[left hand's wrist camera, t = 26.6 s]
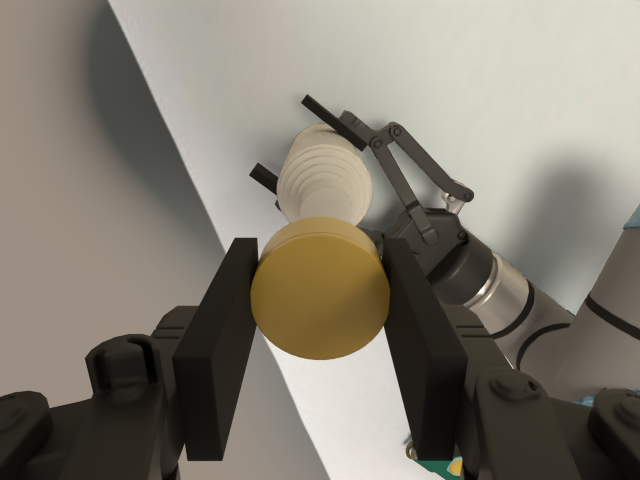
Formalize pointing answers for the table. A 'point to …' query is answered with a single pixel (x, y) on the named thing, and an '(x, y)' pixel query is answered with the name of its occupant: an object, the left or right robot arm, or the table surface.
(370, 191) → the bottle
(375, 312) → the cap
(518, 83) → the table surface
